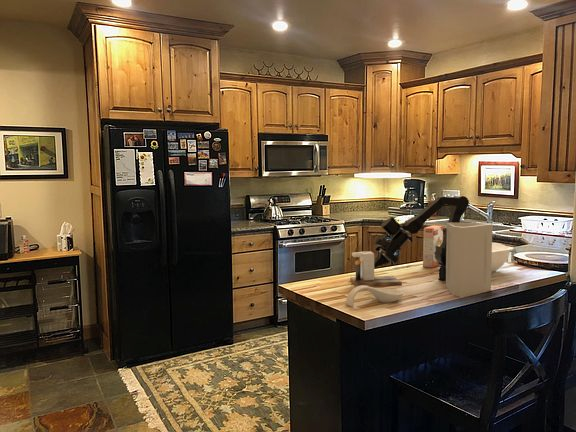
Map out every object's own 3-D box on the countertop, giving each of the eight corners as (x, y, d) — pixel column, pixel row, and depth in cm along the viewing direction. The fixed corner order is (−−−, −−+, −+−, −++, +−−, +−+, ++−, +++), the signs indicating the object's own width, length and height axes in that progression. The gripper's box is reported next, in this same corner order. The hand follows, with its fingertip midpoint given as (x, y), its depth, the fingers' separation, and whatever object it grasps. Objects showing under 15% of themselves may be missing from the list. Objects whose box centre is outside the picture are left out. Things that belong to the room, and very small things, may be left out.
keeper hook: (360, 279, 212) (360, 259, 211) (361, 280, 210) (361, 260, 209) (354, 279, 212) (354, 259, 211) (356, 280, 209) (355, 260, 208)
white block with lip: (370, 277, 214) (370, 251, 213) (374, 280, 208) (374, 253, 207) (351, 277, 213) (351, 252, 212) (354, 280, 207) (354, 254, 206)
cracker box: (433, 268, 240) (434, 228, 238) (422, 267, 244) (422, 227, 242) (442, 263, 251) (443, 225, 250) (432, 262, 255) (432, 224, 253)
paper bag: (462, 283, 208) (463, 221, 205) (491, 290, 195) (493, 224, 193) (432, 289, 198) (433, 224, 195) (461, 297, 185) (463, 227, 183)
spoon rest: (390, 295, 191) (390, 278, 190) (409, 302, 180) (409, 284, 179) (340, 303, 181) (340, 284, 180) (357, 310, 170) (357, 291, 170)
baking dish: (475, 280, 213) (476, 253, 212) (428, 269, 237) (429, 245, 236) (522, 271, 229) (523, 246, 228) (474, 262, 254) (474, 239, 253)
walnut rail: (392, 278, 219) (392, 275, 218) (401, 284, 207) (401, 280, 207) (350, 280, 217) (350, 276, 216) (356, 286, 205) (356, 282, 204)
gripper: (378, 227, 219) (355, 251, 219) (391, 232, 201) (366, 259, 200) (394, 243, 221) (371, 267, 220) (408, 250, 202) (383, 276, 202)
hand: (372, 267), depth 211 cm, fingers closed, pressing on white block with lip
